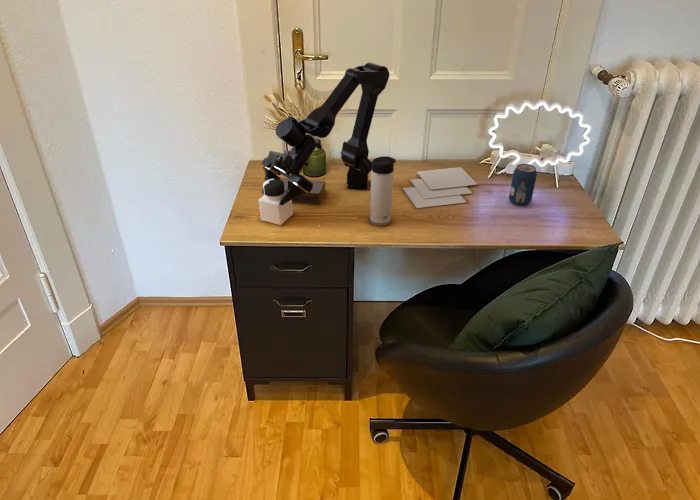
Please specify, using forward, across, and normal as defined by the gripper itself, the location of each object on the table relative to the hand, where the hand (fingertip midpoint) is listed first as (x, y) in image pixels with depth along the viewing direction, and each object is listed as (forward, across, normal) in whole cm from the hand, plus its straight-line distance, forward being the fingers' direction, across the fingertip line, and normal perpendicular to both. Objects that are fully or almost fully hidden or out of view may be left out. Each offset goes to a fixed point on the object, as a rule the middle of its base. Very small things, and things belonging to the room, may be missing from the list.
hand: (271, 199), depth 158 cm
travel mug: (-12, +22, +22) cm, 33 cm away
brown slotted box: (-5, -7, +15) cm, 18 cm away
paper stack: (-33, +19, +43) cm, 58 cm away
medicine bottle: (+4, 0, +6) cm, 7 cm away
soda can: (-41, +42, +51) cm, 78 cm away
